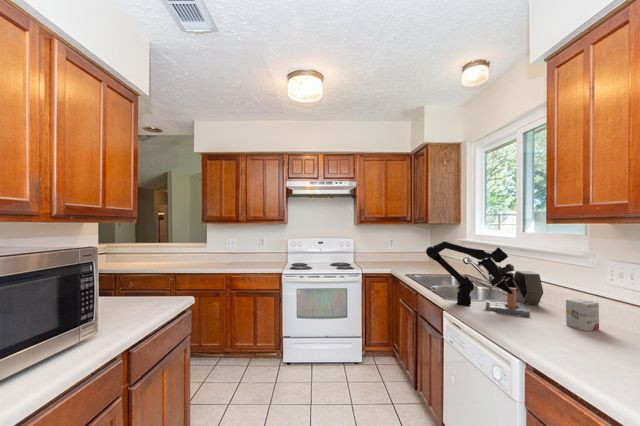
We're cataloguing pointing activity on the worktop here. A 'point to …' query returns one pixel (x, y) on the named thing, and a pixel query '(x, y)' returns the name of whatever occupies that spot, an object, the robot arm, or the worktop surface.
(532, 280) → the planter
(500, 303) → the grey square frame
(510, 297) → the wedge pin
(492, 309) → the bracket
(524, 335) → the worktop surface
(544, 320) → the worktop surface
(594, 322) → the ink box
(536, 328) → the worktop surface
